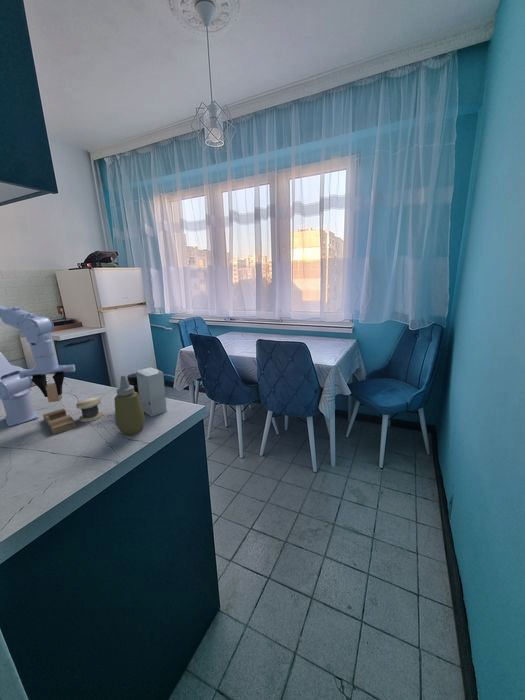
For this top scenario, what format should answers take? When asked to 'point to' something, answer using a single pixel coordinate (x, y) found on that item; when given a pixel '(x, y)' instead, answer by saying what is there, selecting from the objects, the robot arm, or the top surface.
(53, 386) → the brown wooden block
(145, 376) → the skincare box
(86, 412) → the spool
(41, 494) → the top surface
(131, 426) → the squeeze bottle
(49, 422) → the notched board
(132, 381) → the supplement bottle
